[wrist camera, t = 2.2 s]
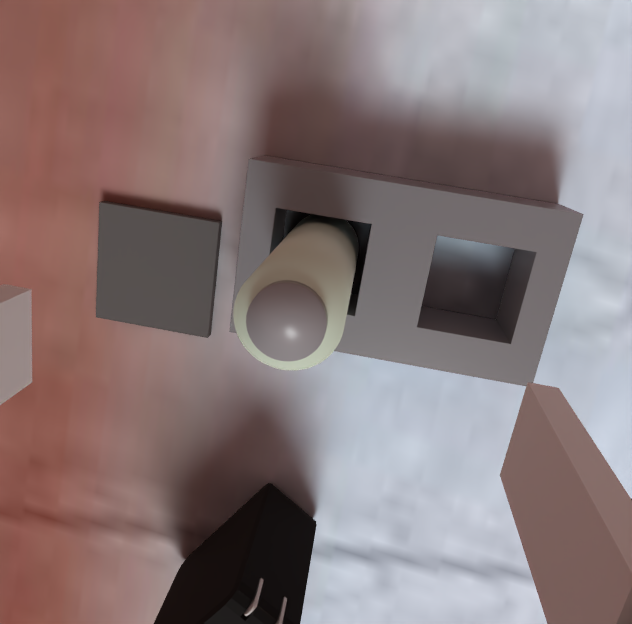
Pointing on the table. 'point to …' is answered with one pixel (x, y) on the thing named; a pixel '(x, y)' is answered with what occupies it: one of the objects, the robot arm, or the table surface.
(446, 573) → the table surface
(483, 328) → the gray cinder block
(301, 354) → the plug
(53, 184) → the table surface
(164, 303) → the coaster
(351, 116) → the table surface
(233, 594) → the electronic device
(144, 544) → the table surface
